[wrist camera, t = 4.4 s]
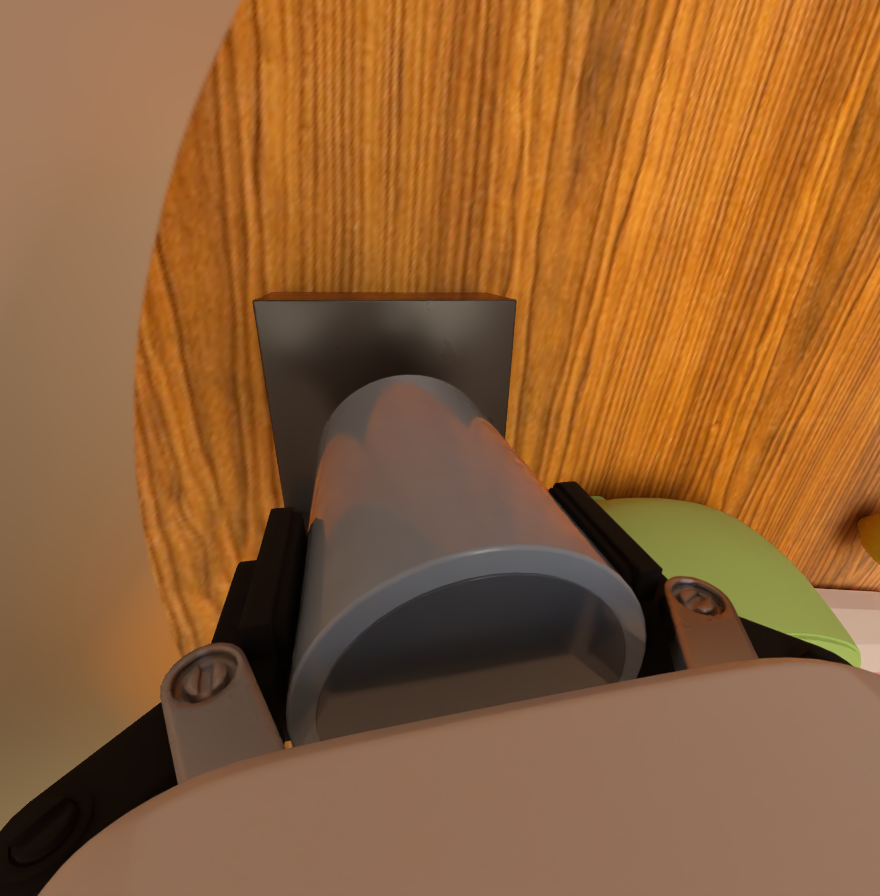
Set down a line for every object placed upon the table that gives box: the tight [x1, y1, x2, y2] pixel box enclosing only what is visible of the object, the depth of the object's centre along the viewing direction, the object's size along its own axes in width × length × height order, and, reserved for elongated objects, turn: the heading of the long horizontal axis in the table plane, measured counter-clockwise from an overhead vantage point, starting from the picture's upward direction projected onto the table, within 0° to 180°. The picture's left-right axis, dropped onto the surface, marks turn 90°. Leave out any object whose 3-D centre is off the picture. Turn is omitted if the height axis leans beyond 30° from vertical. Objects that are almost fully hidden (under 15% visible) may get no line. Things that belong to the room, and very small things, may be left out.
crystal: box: [815, 588, 880, 672], centre depth 42 cm, size 7×7×24 cm
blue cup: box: [285, 375, 647, 747], centre depth 12 cm, size 7×7×10 cm
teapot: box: [590, 496, 861, 668], centre depth 30 cm, size 25×22×16 cm
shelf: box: [253, 292, 516, 539], centre depth 22 cm, size 12×12×9 cm
